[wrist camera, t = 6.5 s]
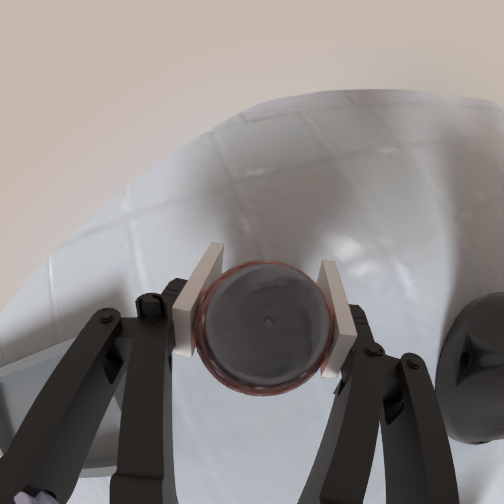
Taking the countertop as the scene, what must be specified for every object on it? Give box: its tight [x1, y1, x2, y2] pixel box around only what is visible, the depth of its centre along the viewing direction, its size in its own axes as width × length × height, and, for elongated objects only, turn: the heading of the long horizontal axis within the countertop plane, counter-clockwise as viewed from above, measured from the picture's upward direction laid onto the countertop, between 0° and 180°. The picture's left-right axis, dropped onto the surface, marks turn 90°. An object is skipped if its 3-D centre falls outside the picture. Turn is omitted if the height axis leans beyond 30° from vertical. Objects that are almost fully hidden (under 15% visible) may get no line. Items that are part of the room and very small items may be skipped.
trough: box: [0, 336, 127, 478], centre depth 13 cm, size 19×10×5 cm, turn 115°
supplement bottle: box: [194, 261, 333, 396], centre depth 14 cm, size 6×6×11 cm
